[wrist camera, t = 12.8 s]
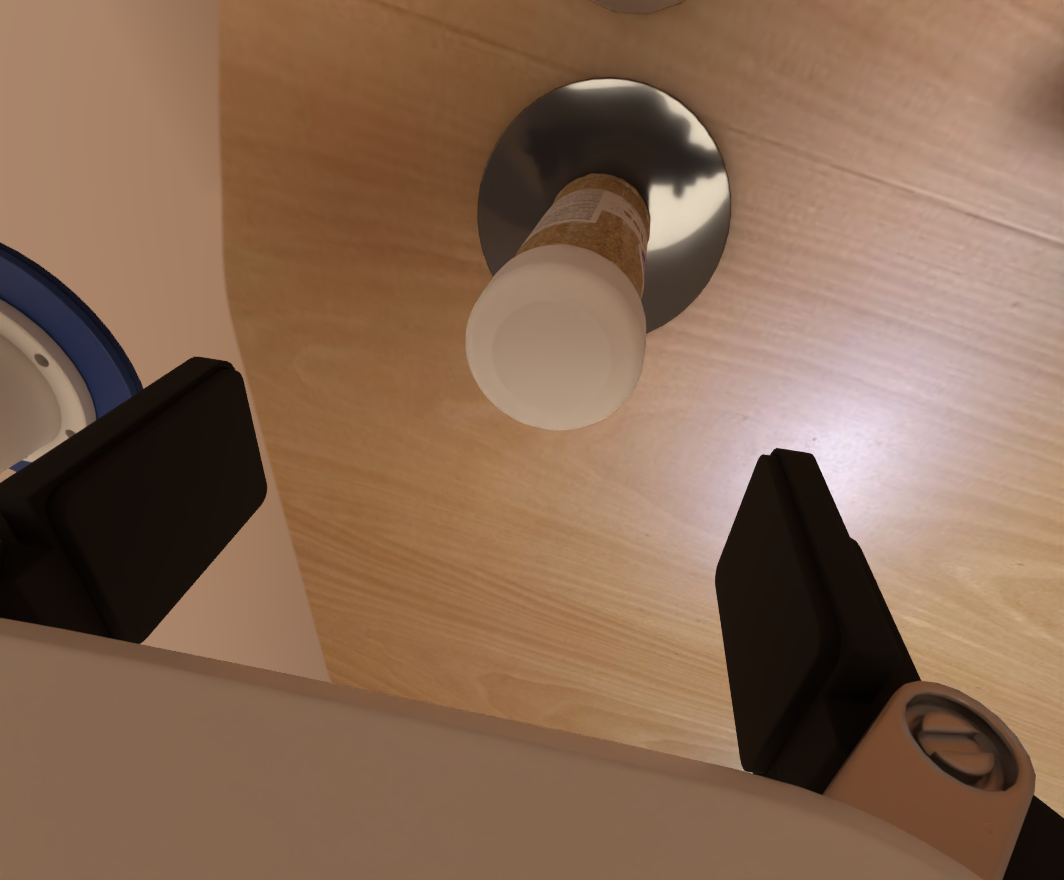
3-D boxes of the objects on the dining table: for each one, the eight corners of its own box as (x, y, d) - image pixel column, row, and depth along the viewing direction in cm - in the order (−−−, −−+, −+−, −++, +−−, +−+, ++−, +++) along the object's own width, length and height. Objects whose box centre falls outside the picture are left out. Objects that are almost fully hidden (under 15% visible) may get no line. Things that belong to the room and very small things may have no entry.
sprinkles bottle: (659, 264, 25) (661, 422, 14) (561, 288, 27) (494, 448, 16) (639, 154, 23) (622, 243, 12) (533, 187, 24) (432, 292, 14)
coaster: (532, 363, 30) (531, 367, 29) (439, 143, 25) (435, 144, 24) (752, 299, 26) (754, 303, 26) (695, 23, 21) (696, 22, 20)
